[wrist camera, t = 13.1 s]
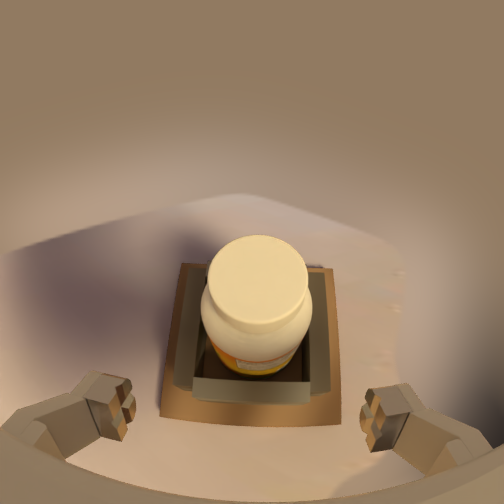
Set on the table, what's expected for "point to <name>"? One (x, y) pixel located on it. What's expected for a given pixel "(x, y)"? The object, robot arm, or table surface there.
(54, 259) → the table surface
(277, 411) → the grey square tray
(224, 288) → the supplement bottle
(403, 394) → the robot arm
